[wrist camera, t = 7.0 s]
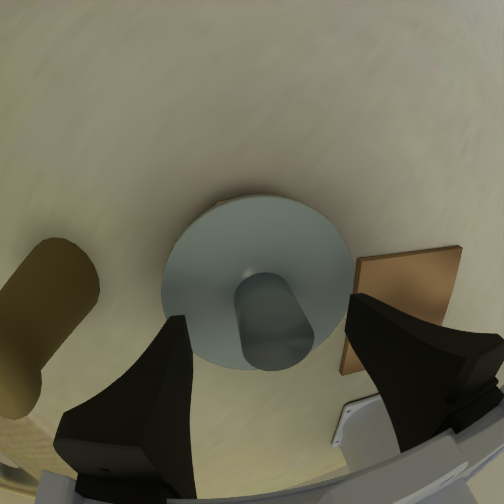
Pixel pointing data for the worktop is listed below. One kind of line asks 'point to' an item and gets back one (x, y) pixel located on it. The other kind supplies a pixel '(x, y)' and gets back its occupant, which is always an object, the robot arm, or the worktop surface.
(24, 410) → the cork
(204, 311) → the lid
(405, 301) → the board
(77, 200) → the worktop surface
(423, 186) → the worktop surface
